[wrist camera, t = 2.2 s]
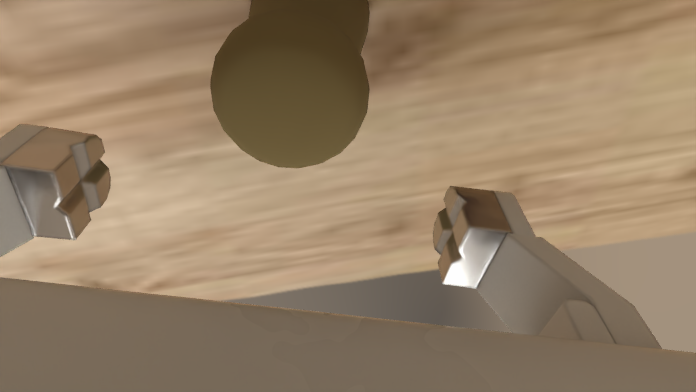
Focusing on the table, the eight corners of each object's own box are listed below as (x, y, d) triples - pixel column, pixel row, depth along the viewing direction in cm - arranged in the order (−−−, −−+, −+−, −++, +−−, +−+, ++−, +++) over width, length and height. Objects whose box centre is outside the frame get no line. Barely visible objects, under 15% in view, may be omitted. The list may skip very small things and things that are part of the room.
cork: (383, -33, 20) (412, 40, 11) (354, 85, 23) (358, 208, 15) (256, -66, 19) (180, -15, 10) (246, 61, 23) (184, 178, 14)
